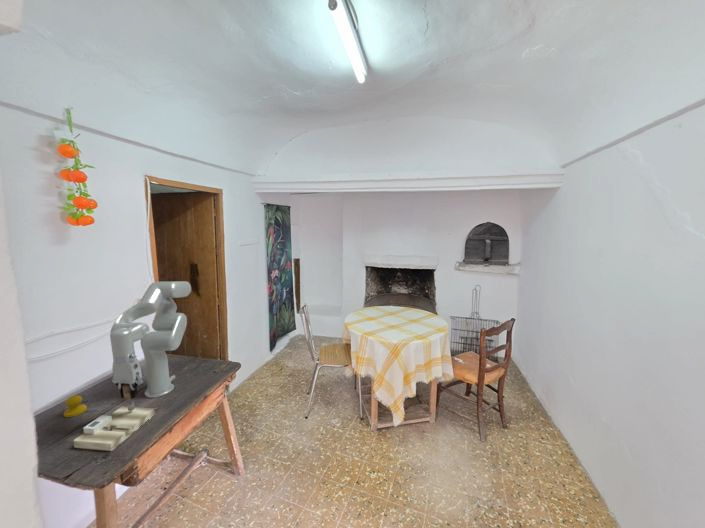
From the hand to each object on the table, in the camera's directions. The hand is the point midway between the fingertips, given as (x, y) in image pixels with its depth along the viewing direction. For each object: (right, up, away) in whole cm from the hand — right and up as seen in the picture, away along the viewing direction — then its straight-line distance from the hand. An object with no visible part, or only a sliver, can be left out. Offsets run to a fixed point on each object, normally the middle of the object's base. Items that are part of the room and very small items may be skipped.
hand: (129, 396), depth 135 cm
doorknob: (-30, -10, +6) cm, 32 cm away
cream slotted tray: (-1, -12, -6) cm, 13 cm away
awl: (0, -6, +1) cm, 6 cm away
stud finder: (-7, -9, -9) cm, 14 cm away
